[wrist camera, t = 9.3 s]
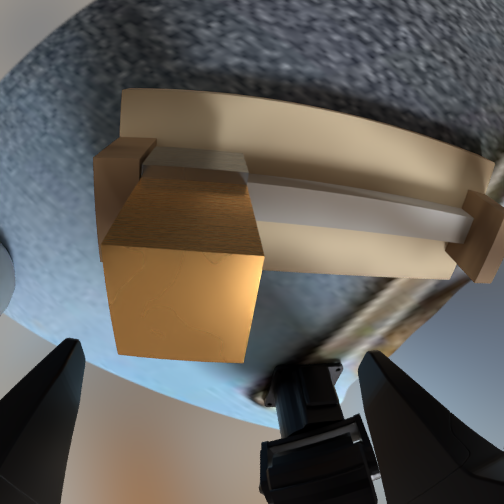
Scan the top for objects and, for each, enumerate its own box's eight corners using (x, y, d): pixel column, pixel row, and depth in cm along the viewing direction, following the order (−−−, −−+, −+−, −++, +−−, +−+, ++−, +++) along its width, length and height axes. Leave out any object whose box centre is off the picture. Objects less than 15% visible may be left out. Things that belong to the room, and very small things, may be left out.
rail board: (440, 269, 24) (475, 311, 19) (127, 247, 20) (106, 302, 15) (482, 156, 19) (532, 184, 14) (129, 88, 15) (94, 96, 10)
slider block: (230, 247, 17) (241, 372, 10) (153, 241, 16) (120, 364, 10) (242, 153, 14) (267, 238, 8) (155, 146, 14) (99, 225, 7)
